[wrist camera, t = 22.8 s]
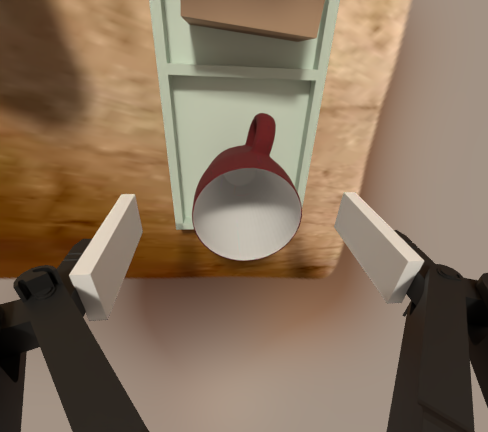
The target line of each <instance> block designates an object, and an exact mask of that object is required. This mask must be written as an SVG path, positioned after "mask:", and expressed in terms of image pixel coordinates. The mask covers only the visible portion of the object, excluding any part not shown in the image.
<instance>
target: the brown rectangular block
mask: <svg viewBox="0 0 488 432" xmlns="http://www.w3.org/2000/svg"><path fill="white" fill-rule="evenodd" d="M180 3H181V17H182V18H183V19H184V20H185V21H186V22H187V23H188V24H189V25H195V26H202V27H208V28H214V29H220V30H227V31H233V32H239V33H245V34H251V35H258V36H264V37H270V38H276V39H283V40H289V41H295V42H300V41H305V40H310V39H315V38H317V34H318V29H319V25H320V20H321V16H322V11H323V7H324V3H325V0H180Z"/></svg>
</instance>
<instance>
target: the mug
mask: <svg viewBox="0 0 488 432" xmlns="http://www.w3.org/2000/svg"><path fill="white" fill-rule="evenodd" d="M275 131H276V124H275V120H274V118H273V117H272V116H270V115H268V114H265V113H259V114H257V115H255V117H254V119H253V120H252V123H251V125H250V128H249V132H248V136H247V140H246V143H245V145H241V146H236V147H232V148H229V149H226V150H224V151H223V152H221V153H220V154H219V155H218V156H217V157H216V158H215V159H214V160H213V161H212V163H211V164H210V165H209V167H208V168H207V169H206V171H205V172H204V174H203V175H202V177H201V179H200V181H199V183H198V185H197V188H196V191H195V195H194V201H193V208H192V223H193V227H194V230H195V233H196V235H197V236H198V238H199V240H200V241H201V242H202V243H203V244H204V246H206V247H207V248H208V249H209V250H210V251H212V252H213V253H215V254H217V255H219V256H221V257H224V258H227V259H231V260H238V261H251V260H257V259H261V258H265V257H267V256H270V255H272V254H274V253H276V252H278V251H279V250H281V249H282V248H283V247H284V246H286V245H287V244H288V243H289V242H290V241H291V239H292V238H293V237H294V235H295V234H296V232H297V230H298V228H299V225H300V222H301V217H302V205H301V201H300V197H299V195H298V192H297V190H296V188H295V186H294V184H293V183H292V181H291V179H290V177H289V176H288V175H287V173H286V172H285V171H284V169H283V168H282V167H281V166H280V165H279V164H278V163H276V162H275V161H274V160H273V159H272V158H271V157H270V152H271V150H272V146H273V143H274V138H275Z"/></svg>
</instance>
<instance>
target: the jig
mask: <svg viewBox="0 0 488 432" xmlns="http://www.w3.org/2000/svg"><path fill="white" fill-rule="evenodd" d="M339 2H340V0H325V3H324V7H323V11H322V16H321V20H320V25H319V29H318V34H317V38H315V39H310V40H305V41H300V42H295V41H289V40H283V39H276V38H270V37H264V36H258V35H251V34H245V33H239V32H233V31H227V30H220V29H214V28H208V27H202V26H195V25H189V24H188V23H187V22H186V21H185V20H184V19H183V18H182V17H181V3H180V0H149V3H150V12H151V20H152V28H153V37H154V45H155V54H156V62H157V71H158V79H159V87H160V96H161V104H162V113H163V121H164V129H165V138H166V146H167V155H168V163H169V172H170V180H171V188H172V197H173V205H174V214H175V222H176V230H177V229H194V227H193V223H192V208H193V201H194V195H195V191H196V188H197V185H198V183H199V181H200V179H201V177H202V175H203V174H204V172H205V171H206V169H207V168H208V167H209V165H210V164H211V163H212V161H213V160H214V159H215V158H216V157H217V156H218V155H219V154H220V153H221V152H223V151H224V150H226V149H229V148H232V147H236V146H241V145H245V143H246V140H247V136H248V132H249V128H250V125H251V123H252V120H253V119H254V117H255V115H257V114H259V113H265V114H268V115H270V116H272V117H273V118H274V120H275V124H276V131H275V138H274V143H273V146H272V150H271V152H270V157H271V158H272V159H273V160H274V161H275V162H276V163H278V164H279V165H280V166H281V167H282V168H283V169H284V171H285V172H286V173H287V175H288V176H289V177H290V179H291V181H292V183H293V184H294V186H295V188H296V190H297V192H298V195H299V197H300V201H301V205H302V206H303V200H304V195H305V189H306V184H307V178H308V173H309V167H310V162H311V156H312V151H313V145H314V140H315V134H316V129H317V123H318V118H319V112H320V107H321V101H322V95H323V90H324V84H325V79H326V73H327V68H328V62H329V57H330V51H331V46H332V40H333V35H334V29H335V24H336V18H337V13H338V7H339Z"/></svg>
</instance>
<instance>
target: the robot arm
mask: <svg viewBox="0 0 488 432" xmlns="http://www.w3.org/2000/svg"><path fill="white" fill-rule="evenodd" d="M334 227H335V229H336V230H337V232H338V233H339V235H340V236H341V238H342V239H343V241H344V242H345V243H346V245H347V246H348V248H349V249H350V251H351V252H352V254H353V255H354V256H355V258H356V259H357V261H358V262H359V264H360V265H361V267H362V268H363V269H364V271H365V272H366V274H367V275H368V277H369V278H370V280H371V281H372V282H373V284H374V285H375V287H376V288H377V290H378V291H379V293H380V294H381V295H382V297H383V298H384V300H385V301H386V303H401V302H402V301H403V299H404V297H405V295H406V294H407V295H408V297H409V298H410V299H411V302H410V303H409V305H408V307H407V309H406V311H405V312H404V314H403V316H406V314H407V316H406V322H405V328H404V334H403V339H402V345H401V351H400V358H399V363H398V369H397V375H396V380H395V386H394V392H393V398H392V404H391V409H390V415H389V421H388V427H387V432H475V431H474V417H473V402H472V388H471V373H470V361H471V364H472V367H473V369H474V372H475V374H476V377H477V380H478V383H479V385H480V388H481V391H482V394H483V396H484V399H485V402H486V404H487V407H488V273H484V274H483V275H482V276H481V277H480V278H479V280H472V279H467V278H463V277H462V276H461V274H460V273H458V272H457V271H456V270H454V269H452V268H450V267H448V266H445V265H441V264H435V263H434V262H433V261H432V260H431V259H430V258H429V257H428V256H427V255H426V254H425V253H424V252H422V251H421V250H420V249H419V248H417V246H416V245H415V244H414V243H412V241H411V240H410V239H409V238H408V237H407V236H405V235H404V234H402V233H400V232H399V231H397V230H393V229H392V228H391V227H390V226H389V225H387V223H386V222H385V221H384V220H383V219H382V218H381V217H379V215H377V213H375V212H374V211H373V210H372V209H371V208H370V207H369V206H368V205H367V204H366V203H365V202H364V201H363V200H362V199H361V198H360V197H359V196H358V195H357V194H356V193H355V192H344V193H343V197H342V200H341V204H340V208H339V211H338V215H337V218H336V222H335V226H334ZM142 232H143V231H142V226H141V221H140V216H139V212H138V207H137V202H136V197H135V194H121V196H120V197H119V199H118V201H117V202H116V204H115V205H114V207H113V208H112V210H111V211H110V213H109V214H108V216H107V217H106V219H105V221H104V222H103V224H102V225H101V227H100V228H99V230H98V231H97V233H96V234H95V236H94V237H93V239H82V240H81V241H80V242H78V243H77V244H75V245H74V246H73V247H72V249H71V250H70V252H69V253H68V255H67V256H66V257H65V258H64V261H62V263H61V264H60V265H59V267H58V268H57V269H56V268H55V267H53V266H48V265H45V266H38V267H35V268H32V269H30V270H28V271H26V272H24V273H22V274H21V275H20V276H19V277H17V279H16V280H15V282H14V289H15V290H16V292H17V294H18V295H19V297H20V298H21V299H20V300H16V301H12V302H8V303H4V304H0V432H21V419H22V406H23V392H24V379H25V366H26V352H27V351H29V350H32V349H35V348H38V347H40V348H41V350H42V353H43V356H44V358H45V361H46V363H47V366H48V369H49V371H50V374H51V376H52V379H53V382H54V384H55V387H56V389H57V392H58V395H59V397H60V400H61V403H62V405H63V408H64V410H65V413H66V416H67V418H68V421H69V423H70V426H71V429H72V431H73V432H149V431H148V429H147V427H146V426H145V424H144V422H143V420H142V419H141V417H140V415H139V414H138V412H137V410H136V409H135V407H134V405H133V403H132V402H131V400H130V398H129V396H128V395H127V393H126V391H125V389H124V388H123V386H122V384H121V382H120V381H119V379H118V377H117V376H116V374H115V372H114V370H113V369H112V367H111V365H110V364H109V362H108V360H107V358H106V357H105V355H104V353H103V351H102V350H101V348H100V346H99V344H98V343H97V341H96V340H95V338H94V336H93V334H92V332H91V331H90V329H89V327H88V325H87V324H86V322H85V320H84V318H83V316H84V314H85V313H86V315H87V317H88V319H89V321H96V320H108V318H109V315H110V313H111V310H112V308H113V305H114V303H115V300H116V297H117V295H118V293H119V290H120V287H121V285H122V282H123V280H124V277H125V275H126V272H127V270H128V267H129V265H130V262H131V260H132V257H133V255H134V252H135V250H136V247H137V245H138V242H139V240H140V237H141V235H142Z"/></svg>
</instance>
